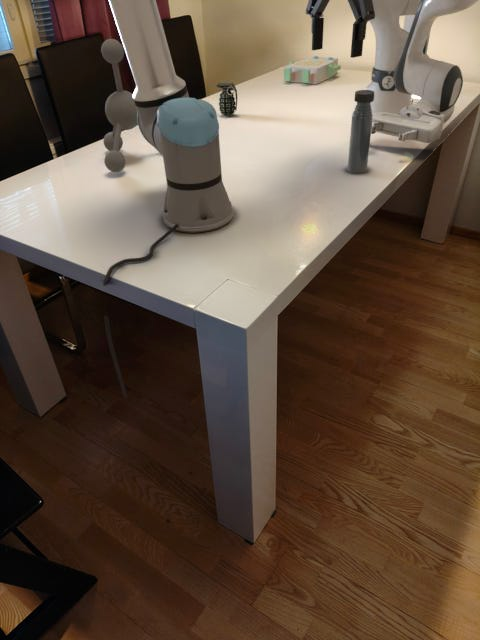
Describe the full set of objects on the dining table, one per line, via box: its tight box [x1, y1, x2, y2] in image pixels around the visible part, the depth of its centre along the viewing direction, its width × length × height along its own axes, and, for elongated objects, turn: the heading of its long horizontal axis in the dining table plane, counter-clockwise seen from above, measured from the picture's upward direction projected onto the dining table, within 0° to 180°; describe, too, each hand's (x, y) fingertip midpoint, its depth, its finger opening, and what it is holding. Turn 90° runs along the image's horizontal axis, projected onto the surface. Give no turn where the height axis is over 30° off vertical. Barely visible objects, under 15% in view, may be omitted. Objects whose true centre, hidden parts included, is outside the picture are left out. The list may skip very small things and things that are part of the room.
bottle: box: [347, 102, 373, 175], centre depth 119 cm, size 5×5×18 cm
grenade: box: [215, 82, 238, 117], centre depth 166 cm, size 7×6×10 cm
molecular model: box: [100, 38, 138, 173], centre depth 130 cm, size 24×22×30 cm
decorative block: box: [283, 55, 342, 85], centre depth 206 cm, size 26×6×20 cm
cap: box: [354, 89, 374, 103], centre depth 114 cm, size 4×4×2 cm
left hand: (335, 53), depth 114 cm, fingers open, 13 cm apart
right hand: (385, 134), depth 127 cm, fingers open, 8 cm apart
